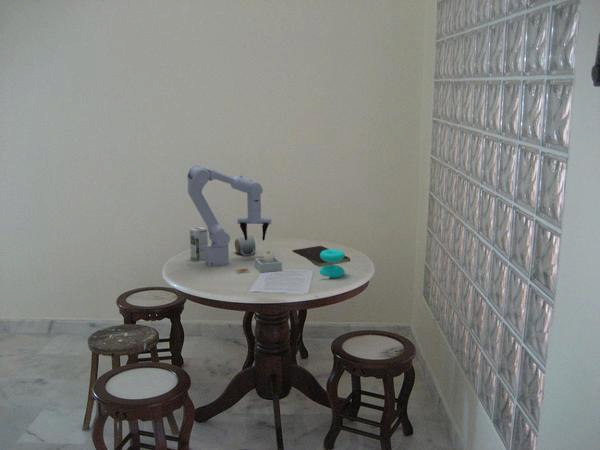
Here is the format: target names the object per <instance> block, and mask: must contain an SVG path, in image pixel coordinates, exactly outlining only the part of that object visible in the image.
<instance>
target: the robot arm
mask: <svg viewBox="0 0 600 450" xmlns="http://www.w3.org/2000/svg"><path fill="white" fill-rule="evenodd" d="M186 177H187V193H188V195H189V197H190V199H191V201H192V203H193V204H194V206H195V207H196V209H197V211H198V214H199V216H201V218H202V221H203V222H204V224H205V225H206V228H207V233H208V234H209V235H208V236H209V240H210V241H211V245H209V246H208V247H206V262H205V263H206V264H207V265H208V266H209V267H211V266H224V265H228V264H229V263H230V262H229V260H230V259H229V257H230V256H229V255H230V254H229V244H230V242H231V241H230V240H231V237H230V234H229V233H227V232H226V231H225V230H224V229H223V227H222V226H221V224H220V223H219V221H218V219H217V217H216V216H215V215H214V213H213V211H212V209H211V207H210V205H209V203H208V202H207V200H206V198H205V196H204V195H203V189H204V188H205V186H206V184H207V183H208V182H209V181H210V182H212V181H214V180H216V181H220V182H223V183H226V184H229V185H230V187H231V188H232V189H234V190H236V191H239V192H242V193H246V195H247V199H246V200H247V205H246V206H247V218H244V217H243V218H237V225H239V228H240V229H241V231H242V234H243V237H245V240H247V237H248V224H250V225H251V224H253V225H254V224H255V225H256V224H257V225H262V226H261V228H262V238H261V239H262V241H265V239H266V234H267V229H268V228H269V225H272V219H271V218H262V203H261V202H262V200H261V197H262V196H261V195H262V193H263V190H264V189H263V186H262V185H261V184H260V183H259V182H255V181H254V180H253V179H250V178H249V179H247V178H245V177H244V176H243V175H241V174H239V175H234V176H230V175H228V174H226V173H223V172H220V171H218V170H215V169H212V168H208V167H204V166H202V167H201V166H199V165H194V166H193V165H192V166H191V167H190V168H189V171H188V173H187V175H186Z"/></svg>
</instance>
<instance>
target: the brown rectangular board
mask: <svg viewBox="0 0 600 450" xmlns="http://www.w3.org/2000/svg"><path fill="white" fill-rule="evenodd" d="M234 272H235V273H236V274H237V275H238V274H239V275H240V274H249V273H251V271H250V269H249V268H238V269H234Z"/></svg>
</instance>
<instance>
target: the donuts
mask: <svg viewBox="0 0 600 450" xmlns="http://www.w3.org/2000/svg"><path fill="white" fill-rule="evenodd" d="M344 256H346V255H345V253H344V252H343V250H341V249H340V250H339V249H334V248H333V249H331V248H328V250H324V251H322V252H321V253H320V257H321V259H322V260H324V261H327V262H338V261H341V260H342V259H343V258H344ZM319 274H321V275H322V276H328V278H330V279H339V278H341V277H343V276H344V274H345V270H344V268H343V267H342V266H340V265H336V264H330V265H324V266H321V268H320V269H319Z"/></svg>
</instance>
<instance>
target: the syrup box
mask: <svg viewBox="0 0 600 450" xmlns="http://www.w3.org/2000/svg"><path fill="white" fill-rule="evenodd" d="M189 242H190V244H189V245H190V246H189V247H190V261H193V262H195V261H196V263H197V262H205V261H206V247H208V244H209V243H208V242H209V241H208V228H205V227H201V226H195V227H194V226H193V227H191V228H189Z"/></svg>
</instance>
